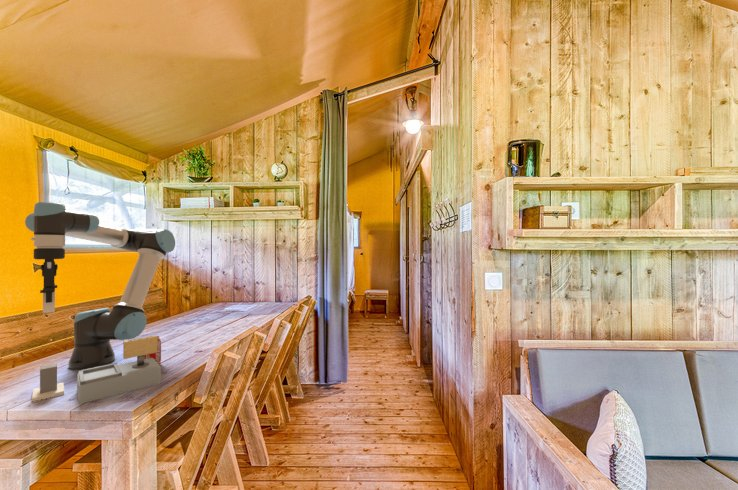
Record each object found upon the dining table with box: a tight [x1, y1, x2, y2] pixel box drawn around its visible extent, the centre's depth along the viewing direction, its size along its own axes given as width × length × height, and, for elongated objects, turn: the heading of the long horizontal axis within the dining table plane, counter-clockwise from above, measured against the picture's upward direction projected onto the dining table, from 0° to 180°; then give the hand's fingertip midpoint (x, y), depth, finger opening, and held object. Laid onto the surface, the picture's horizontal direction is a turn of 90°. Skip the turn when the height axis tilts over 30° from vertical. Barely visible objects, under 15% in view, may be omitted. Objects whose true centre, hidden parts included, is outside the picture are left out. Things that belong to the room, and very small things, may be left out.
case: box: [76, 358, 162, 405], centre depth 111 cm, size 14×22×7 cm, turn 135°
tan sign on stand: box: [122, 335, 158, 366], centre depth 116 cm, size 2×10×10 cm, turn 135°
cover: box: [31, 363, 65, 402], centre depth 107 cm, size 10×7×10 cm
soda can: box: [144, 335, 162, 365], centre depth 131 cm, size 7×7×12 cm
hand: (49, 309), depth 107 cm, fingers open, 13 cm apart
